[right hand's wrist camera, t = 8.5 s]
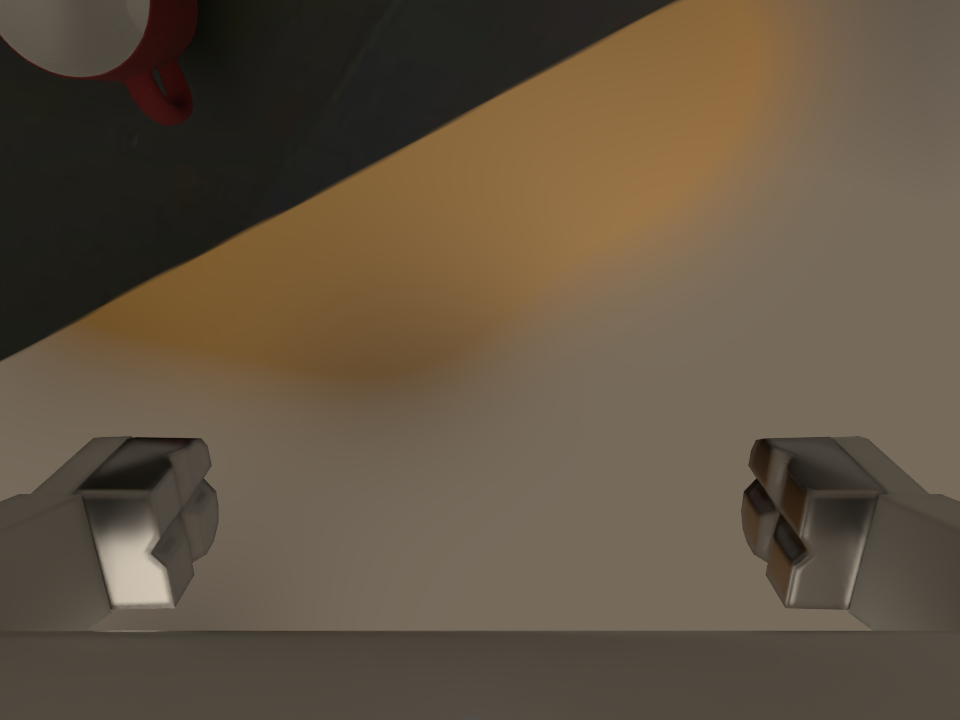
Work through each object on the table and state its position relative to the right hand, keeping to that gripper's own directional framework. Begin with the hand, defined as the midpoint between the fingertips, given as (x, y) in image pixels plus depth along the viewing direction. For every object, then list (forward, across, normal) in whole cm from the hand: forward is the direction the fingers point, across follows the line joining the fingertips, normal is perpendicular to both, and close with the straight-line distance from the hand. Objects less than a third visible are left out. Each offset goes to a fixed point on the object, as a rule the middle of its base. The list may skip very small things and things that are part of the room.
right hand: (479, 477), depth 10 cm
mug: (+36, -18, +9) cm, 41 cm away
